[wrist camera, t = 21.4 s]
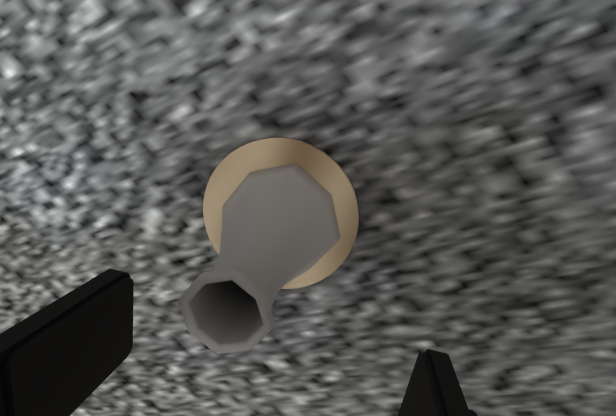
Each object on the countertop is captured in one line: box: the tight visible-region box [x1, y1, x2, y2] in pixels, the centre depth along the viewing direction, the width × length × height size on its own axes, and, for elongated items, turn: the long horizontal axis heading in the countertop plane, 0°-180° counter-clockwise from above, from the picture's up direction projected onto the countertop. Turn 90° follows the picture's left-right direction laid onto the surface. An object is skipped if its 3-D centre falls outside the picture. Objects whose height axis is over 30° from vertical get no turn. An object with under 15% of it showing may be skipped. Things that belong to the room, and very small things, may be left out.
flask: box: [178, 163, 341, 354], centre depth 16 cm, size 7×7×10 cm
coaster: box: [203, 137, 359, 289], centre depth 21 cm, size 10×10×1 cm
